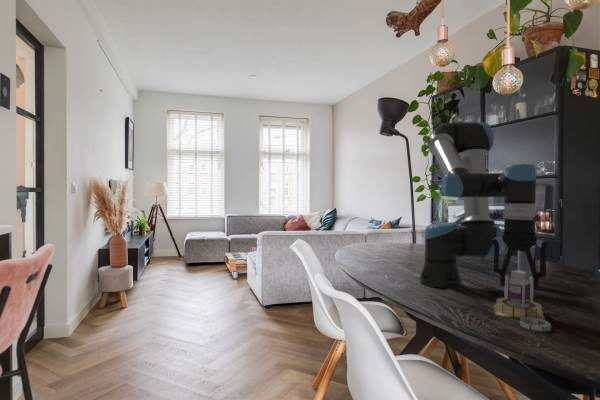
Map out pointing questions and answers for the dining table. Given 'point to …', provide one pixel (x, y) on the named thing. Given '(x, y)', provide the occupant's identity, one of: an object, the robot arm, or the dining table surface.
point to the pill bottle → (518, 289)
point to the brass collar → (518, 309)
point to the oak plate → (511, 316)
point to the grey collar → (535, 324)
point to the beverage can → (525, 262)
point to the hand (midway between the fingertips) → (518, 298)
